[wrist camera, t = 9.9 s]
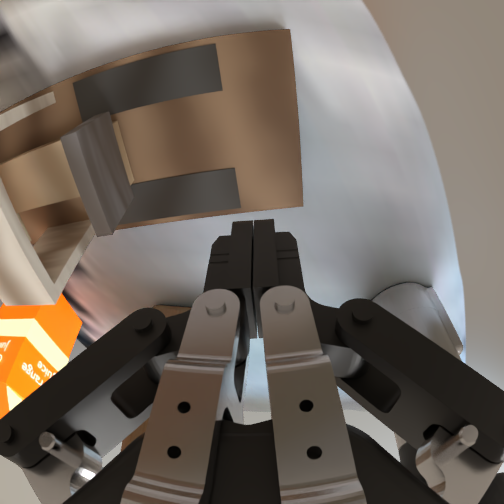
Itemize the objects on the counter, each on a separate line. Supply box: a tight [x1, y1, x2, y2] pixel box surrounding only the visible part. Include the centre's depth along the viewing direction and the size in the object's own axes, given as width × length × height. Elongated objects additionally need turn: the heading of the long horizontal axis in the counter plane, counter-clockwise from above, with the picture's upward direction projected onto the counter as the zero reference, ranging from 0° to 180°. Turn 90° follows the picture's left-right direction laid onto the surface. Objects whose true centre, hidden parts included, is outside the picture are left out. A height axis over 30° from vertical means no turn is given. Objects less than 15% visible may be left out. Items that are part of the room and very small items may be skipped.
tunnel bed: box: [0, 29, 303, 306], centre depth 19 cm, size 42×14×11 cm, turn 97°
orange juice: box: [0, 293, 82, 419], centre depth 27 cm, size 8×9×20 cm
